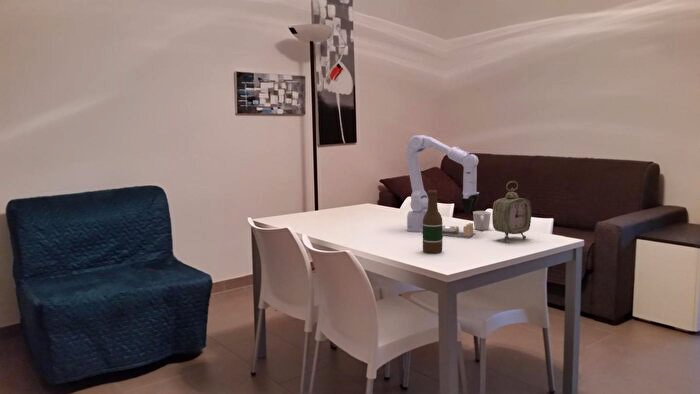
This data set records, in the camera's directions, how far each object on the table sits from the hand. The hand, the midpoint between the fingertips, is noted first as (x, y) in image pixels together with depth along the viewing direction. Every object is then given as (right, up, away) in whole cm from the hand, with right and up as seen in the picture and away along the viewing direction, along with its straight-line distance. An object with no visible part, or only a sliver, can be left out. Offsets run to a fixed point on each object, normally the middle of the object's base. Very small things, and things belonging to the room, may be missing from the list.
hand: (469, 212), depth 242 cm
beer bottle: (-21, -15, -30) cm, 39 cm away
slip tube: (-10, -10, +3) cm, 14 cm away
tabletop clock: (+15, -11, -12) cm, 22 cm away
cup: (+8, -9, +11) cm, 16 cm away
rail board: (-8, -10, +1) cm, 13 cm away
